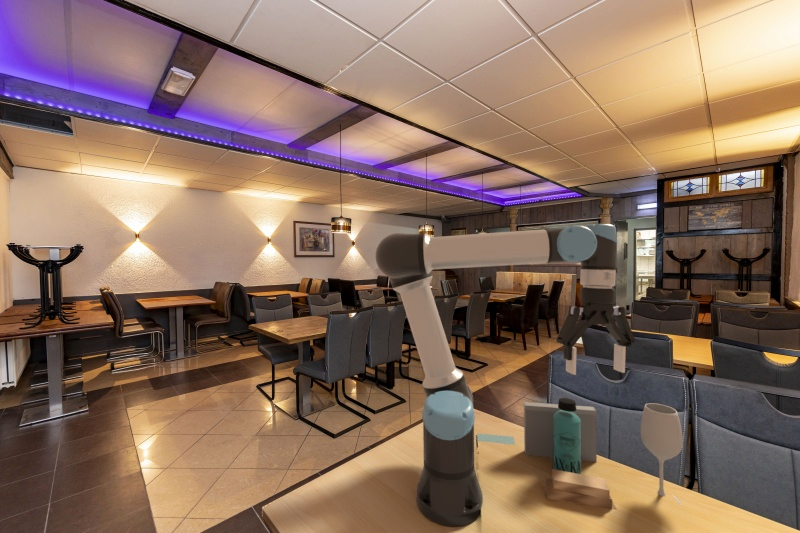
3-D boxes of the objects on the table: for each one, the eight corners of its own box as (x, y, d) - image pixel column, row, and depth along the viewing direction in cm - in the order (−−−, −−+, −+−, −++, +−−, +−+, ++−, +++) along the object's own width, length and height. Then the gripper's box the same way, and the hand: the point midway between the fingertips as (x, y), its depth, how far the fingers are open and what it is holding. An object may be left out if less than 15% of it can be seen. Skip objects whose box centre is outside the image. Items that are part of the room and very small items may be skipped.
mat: (478, 454, 95) (478, 452, 95) (477, 434, 105) (477, 433, 105) (518, 458, 92) (518, 456, 92) (513, 438, 103) (513, 436, 103)
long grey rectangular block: (525, 459, 92) (525, 405, 92) (524, 454, 94) (523, 401, 94) (596, 467, 88) (596, 410, 88) (593, 461, 90) (593, 406, 90)
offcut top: (553, 488, 75) (553, 479, 75) (552, 477, 79) (552, 469, 79) (609, 499, 71) (609, 490, 71) (604, 487, 75) (604, 478, 75)
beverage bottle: (549, 469, 87) (548, 394, 87) (576, 471, 86) (575, 395, 86) (557, 485, 81) (557, 404, 81) (586, 487, 80) (585, 405, 80)
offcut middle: (547, 498, 74) (547, 489, 74) (544, 486, 79) (544, 477, 79) (612, 508, 71) (612, 499, 71) (604, 494, 76) (604, 486, 76)
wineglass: (691, 513, 71) (690, 417, 71) (651, 509, 73) (651, 414, 73) (670, 490, 79) (669, 403, 79) (634, 486, 80) (634, 400, 80)
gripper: (561, 287, 76) (559, 379, 76) (654, 288, 80) (652, 375, 80) (542, 285, 83) (540, 368, 84) (628, 286, 87) (626, 365, 88)
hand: (595, 372), depth 82 cm, fingers open, 13 cm apart
